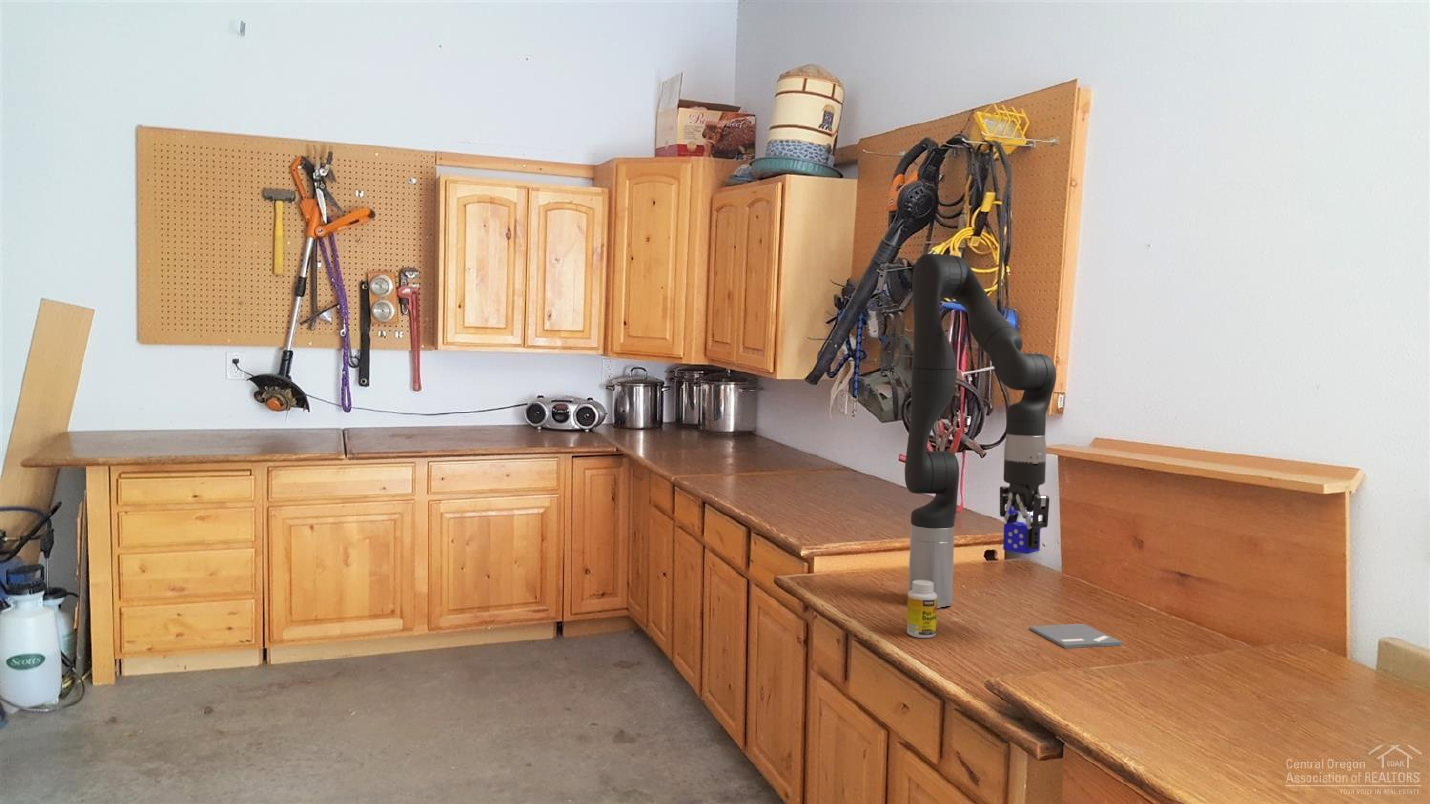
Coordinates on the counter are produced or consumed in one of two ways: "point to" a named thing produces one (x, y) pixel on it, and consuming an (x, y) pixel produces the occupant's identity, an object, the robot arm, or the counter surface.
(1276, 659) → the counter surface
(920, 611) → the supplement bottle
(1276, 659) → the counter surface
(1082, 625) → the tile
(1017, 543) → the die
